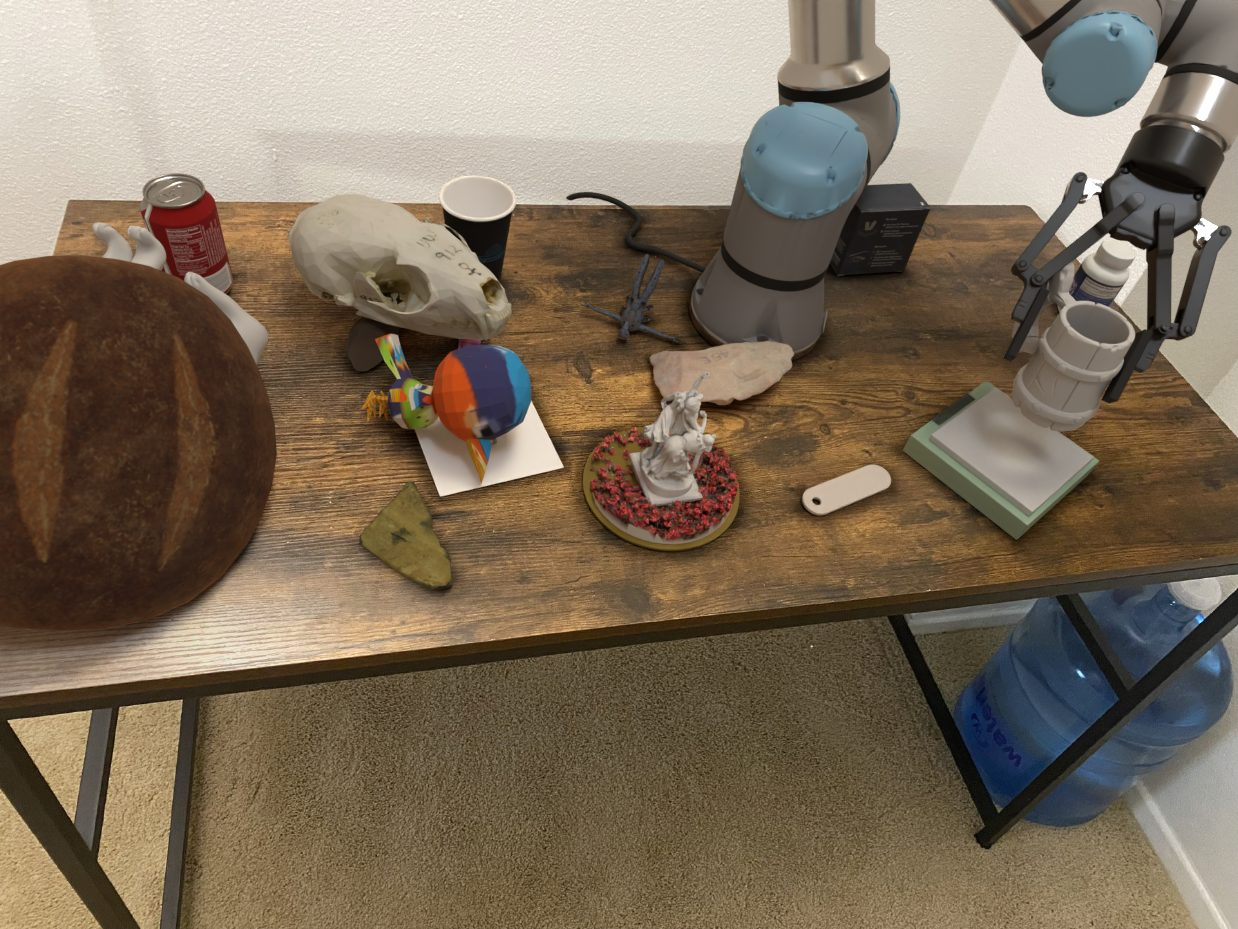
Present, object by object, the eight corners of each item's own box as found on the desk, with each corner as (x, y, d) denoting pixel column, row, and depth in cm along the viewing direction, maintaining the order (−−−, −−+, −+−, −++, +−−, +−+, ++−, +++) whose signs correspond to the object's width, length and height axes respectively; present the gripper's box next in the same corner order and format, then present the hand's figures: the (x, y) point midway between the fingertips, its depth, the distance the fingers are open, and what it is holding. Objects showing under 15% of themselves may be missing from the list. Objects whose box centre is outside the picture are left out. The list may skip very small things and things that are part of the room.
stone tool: (658, 421, 93) (803, 411, 95) (659, 382, 90) (809, 372, 92) (646, 372, 100) (781, 363, 102) (647, 334, 97) (786, 326, 99)
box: (885, 245, 119) (912, 181, 112) (904, 273, 115) (933, 208, 108) (819, 249, 116) (842, 183, 109) (837, 277, 113) (862, 211, 106)
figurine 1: (432, 277, 96) (394, 361, 89) (429, 306, 100) (393, 389, 93) (371, 259, 96) (329, 342, 89) (371, 289, 100) (330, 371, 93)
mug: (1038, 440, 84) (1100, 338, 75) (969, 354, 91) (1019, 252, 82) (1107, 427, 86) (1176, 326, 77) (1035, 344, 93) (1090, 244, 84)
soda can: (247, 291, 98) (225, 193, 89) (188, 318, 94) (159, 218, 85) (211, 260, 100) (187, 161, 91) (152, 284, 97) (120, 184, 88)
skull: (454, 397, 85) (454, 307, 78) (260, 292, 92) (244, 202, 85) (542, 326, 94) (549, 240, 87) (360, 236, 101) (353, 150, 94)
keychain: (794, 496, 89) (812, 521, 88) (796, 493, 88) (814, 517, 87) (876, 464, 93) (894, 487, 92) (879, 460, 93) (897, 483, 91)
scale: (901, 449, 95) (912, 428, 93) (976, 395, 102) (988, 374, 100) (1016, 540, 89) (1031, 520, 87) (1087, 475, 96) (1103, 455, 94)
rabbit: (121, 193, 68) (-94, 490, 60) (306, 351, 84) (156, 601, 76) (42, 188, 74) (-164, 458, 66) (229, 337, 90) (82, 567, 82)
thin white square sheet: (439, 496, 83) (439, 486, 82) (405, 405, 90) (404, 394, 89) (564, 467, 88) (565, 457, 86) (522, 382, 94) (523, 371, 93)
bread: (274, 293, 80) (327, 287, 74) (253, 606, 81) (305, 625, 75) (-150, 217, 59) (-122, 200, 53) (-174, 642, 59) (-149, 672, 54)
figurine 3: (707, 420, 94) (738, 311, 84) (762, 536, 85) (806, 432, 75) (565, 438, 90) (579, 327, 79) (607, 563, 81) (630, 456, 70)
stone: (459, 590, 78) (460, 580, 76) (382, 613, 75) (381, 602, 74) (418, 486, 84) (418, 474, 83) (346, 503, 82) (344, 492, 80)
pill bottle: (1063, 293, 117) (1103, 228, 110) (1104, 313, 115) (1147, 248, 108) (1050, 313, 114) (1090, 248, 106) (1092, 333, 112) (1135, 269, 105)
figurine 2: (707, 278, 102) (707, 272, 97) (675, 360, 103) (673, 358, 98) (607, 239, 103) (601, 232, 98) (576, 321, 104) (569, 317, 99)
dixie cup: (496, 312, 101) (498, 227, 92) (428, 291, 101) (425, 205, 93) (522, 271, 106) (527, 187, 97) (458, 251, 107) (457, 167, 98)
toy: (351, 489, 82) (511, 488, 78) (346, 330, 81) (506, 322, 77) (404, 481, 91) (548, 480, 88) (399, 339, 91) (545, 332, 87)
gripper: (1287, 199, 82) (1164, 431, 84) (1052, 115, 86) (941, 337, 89) (1329, 172, 74) (1193, 427, 77) (1070, 82, 79) (949, 325, 81)
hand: (1058, 378), depth 83 cm, fingers closed on mug, 8 cm apart
